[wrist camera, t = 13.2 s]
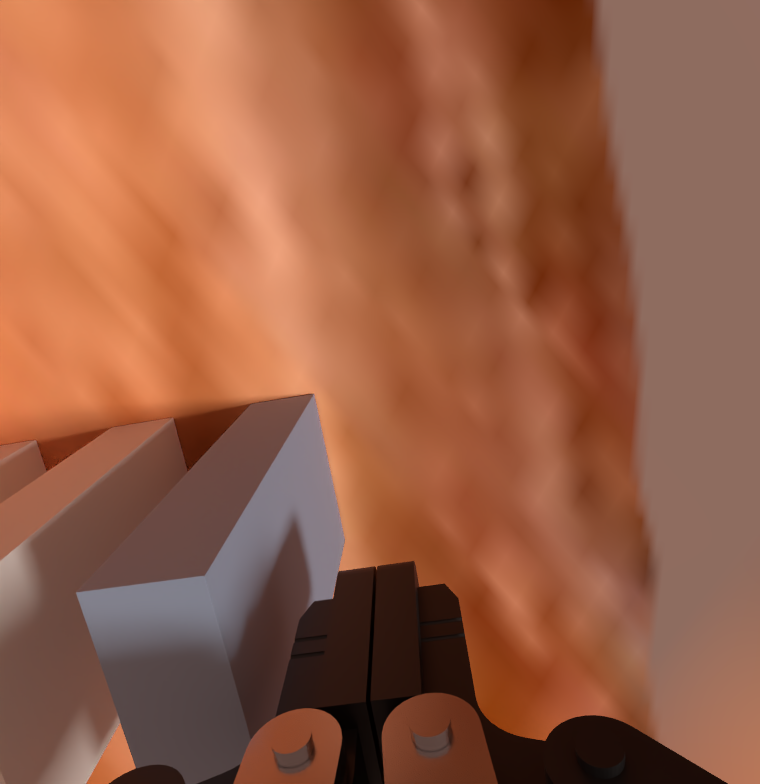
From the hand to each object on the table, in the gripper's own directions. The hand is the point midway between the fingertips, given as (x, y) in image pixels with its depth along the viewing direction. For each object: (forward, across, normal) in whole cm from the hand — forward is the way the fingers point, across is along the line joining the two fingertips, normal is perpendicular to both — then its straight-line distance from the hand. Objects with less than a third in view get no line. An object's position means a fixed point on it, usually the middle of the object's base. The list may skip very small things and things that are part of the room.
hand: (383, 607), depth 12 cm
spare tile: (+7, +3, 0) cm, 8 cm away
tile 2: (+8, +7, 0) cm, 10 cm away
